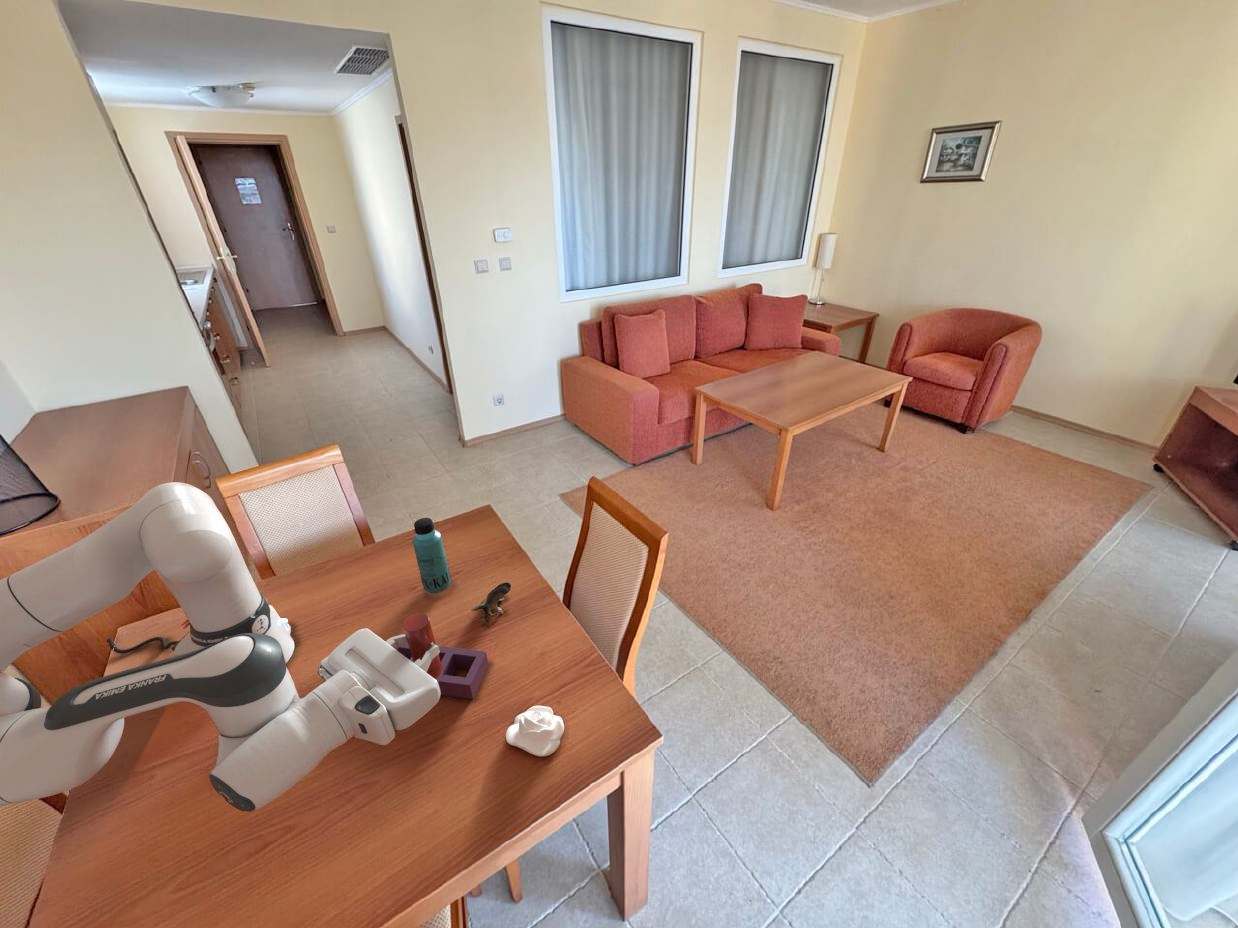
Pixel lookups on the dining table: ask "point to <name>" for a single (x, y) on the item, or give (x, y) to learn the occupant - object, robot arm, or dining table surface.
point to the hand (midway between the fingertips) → (426, 639)
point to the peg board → (460, 660)
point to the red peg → (421, 640)
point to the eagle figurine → (493, 601)
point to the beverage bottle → (430, 556)
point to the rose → (536, 731)
